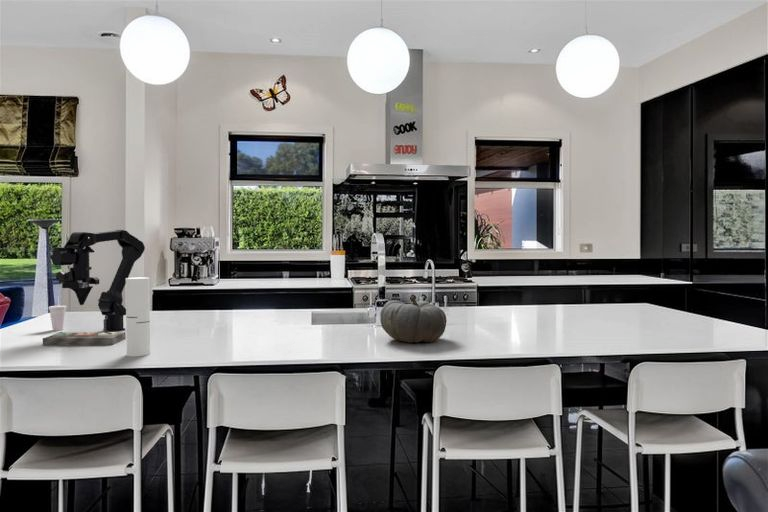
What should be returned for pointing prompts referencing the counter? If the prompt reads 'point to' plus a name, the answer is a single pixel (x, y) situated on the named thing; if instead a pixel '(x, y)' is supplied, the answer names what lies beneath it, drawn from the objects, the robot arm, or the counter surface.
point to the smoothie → (57, 316)
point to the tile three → (108, 334)
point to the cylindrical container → (138, 316)
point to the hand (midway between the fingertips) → (81, 304)
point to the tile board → (85, 339)
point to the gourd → (413, 321)
